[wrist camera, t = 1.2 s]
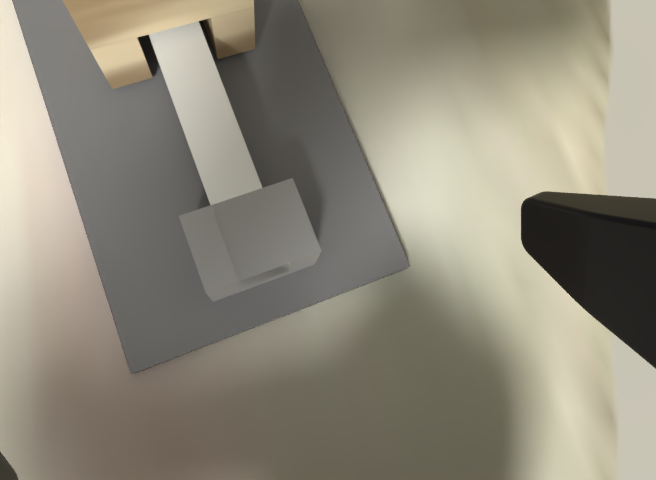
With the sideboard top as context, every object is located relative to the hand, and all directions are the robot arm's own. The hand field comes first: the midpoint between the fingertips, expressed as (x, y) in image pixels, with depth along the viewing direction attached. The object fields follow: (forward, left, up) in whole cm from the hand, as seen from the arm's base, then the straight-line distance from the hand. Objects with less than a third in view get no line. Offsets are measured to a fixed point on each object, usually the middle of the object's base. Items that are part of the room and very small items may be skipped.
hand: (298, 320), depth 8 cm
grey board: (+16, 0, -14) cm, 21 cm away
